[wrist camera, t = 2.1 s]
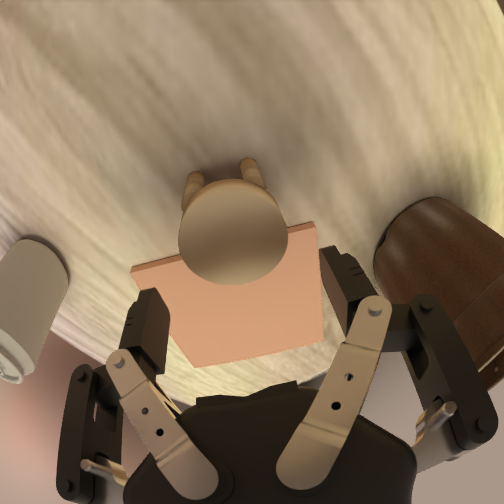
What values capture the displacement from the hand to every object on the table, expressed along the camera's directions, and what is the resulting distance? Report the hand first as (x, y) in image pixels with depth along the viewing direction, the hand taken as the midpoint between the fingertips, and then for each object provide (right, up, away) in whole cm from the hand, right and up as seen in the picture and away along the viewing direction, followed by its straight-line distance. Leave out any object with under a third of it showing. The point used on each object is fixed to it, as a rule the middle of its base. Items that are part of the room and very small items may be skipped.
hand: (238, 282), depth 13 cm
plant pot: (+18, +2, +13) cm, 22 cm away
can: (-20, 0, +9) cm, 22 cm away
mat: (-1, -4, +14) cm, 15 cm away
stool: (-1, +6, +7) cm, 9 cm away
